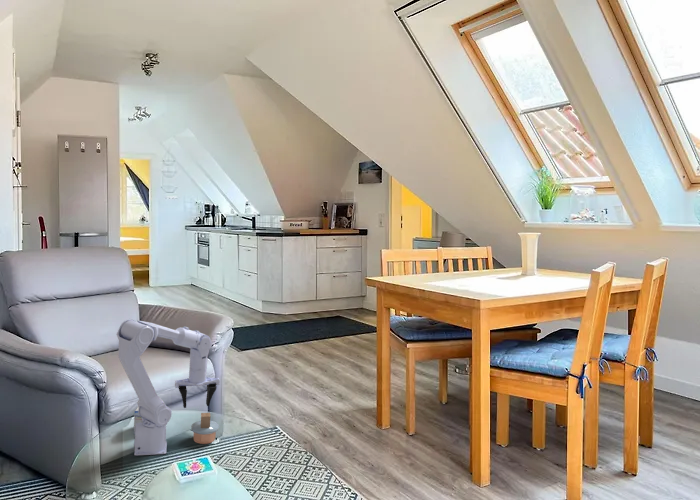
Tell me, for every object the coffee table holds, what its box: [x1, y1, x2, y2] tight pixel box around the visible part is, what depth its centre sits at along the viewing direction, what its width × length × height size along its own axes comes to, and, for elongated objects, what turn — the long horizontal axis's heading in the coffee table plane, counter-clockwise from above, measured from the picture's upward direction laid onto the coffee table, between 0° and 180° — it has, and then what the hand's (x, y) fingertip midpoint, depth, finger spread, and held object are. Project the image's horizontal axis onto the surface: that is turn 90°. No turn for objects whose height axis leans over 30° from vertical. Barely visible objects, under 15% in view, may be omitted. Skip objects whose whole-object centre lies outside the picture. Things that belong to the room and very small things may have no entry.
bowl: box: [192, 431, 217, 445], centre depth 195 cm, size 7×7×4 cm
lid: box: [190, 412, 220, 434], centre depth 194 cm, size 9×9×5 cm
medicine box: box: [133, 406, 143, 436], centre depth 197 cm, size 8×4×9 cm, turn 5°
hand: (196, 405), depth 197 cm, fingers open, 7 cm apart
